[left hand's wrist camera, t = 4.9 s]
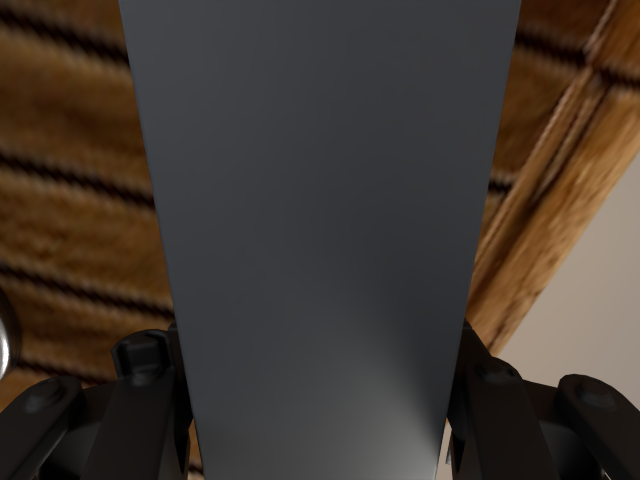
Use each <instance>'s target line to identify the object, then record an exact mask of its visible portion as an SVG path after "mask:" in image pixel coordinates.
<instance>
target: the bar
mask: <svg viewBox="0 0 640 480" xmlns="http://www.w3.org/2000/svg"><path fill="white" fill-rule="evenodd" d="M118 1H119V7H120V12H121V18H122V24H123V29H124V35H125V40H126V46H127V51H128V57H129V62H130V68H131V74H132V79H133V85H134V90H135V96H136V101H137V107H138V112H139V118H140V124H141V129H142V135H143V140H144V146H145V151H146V157H147V162H148V168H149V174H150V179H151V185H152V190H153V196H154V201H155V207H156V212H157V218H158V224H159V229H160V235H161V240H162V246H163V251H164V257H165V263H166V268H167V274H168V279H169V285H170V290H171V296H172V301H173V307H174V313H175V318H176V324H177V329H178V335H179V340H180V346H181V351H182V357H183V363H184V368H185V374H186V379H187V385H188V390H189V396H190V401H191V407H192V413H193V418H194V424H195V429H196V435H197V440H198V446H199V451H200V457H201V463H202V468H203V474H204V479H205V480H435V478H436V473H437V467H438V461H439V456H440V450H441V445H442V439H443V434H444V428H445V423H446V417H447V411H448V406H449V400H450V395H451V389H452V384H453V378H454V373H455V367H456V361H457V356H458V350H459V345H460V339H461V334H462V328H463V323H464V317H465V311H466V306H467V300H468V295H469V289H470V284H471V278H472V273H473V267H474V261H475V256H476V250H477V245H478V239H479V234H480V228H481V223H482V217H483V211H484V206H485V200H486V195H487V189H488V184H489V178H490V173H491V167H492V161H493V156H494V150H495V145H496V139H497V134H498V128H499V122H500V117H501V111H502V106H503V100H504V95H505V89H506V84H507V78H508V72H509V67H510V61H511V56H512V50H513V45H514V39H515V34H516V28H517V22H518V17H519V11H520V6H521V0H118Z"/></svg>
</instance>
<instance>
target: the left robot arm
mask: <svg viewBox="0 0 640 480" xmlns="http://www.w3.org/2000/svg"><path fill="white" fill-rule="evenodd" d="M20 352H21V333H20V328H19V324H18V321H17V318H16V316H15V314H14V312H13V309H12V307H11V306H10V304H9V302H8V301H7V299H6V298H5V296H4V295H3V294H2V292H1V291H0V382H1V381H2V380H3V379H4V378H6V377H7V376H8V375H9V374H10V373H11V372H12V370H13V369H14V367H15V366H16V364H17V362H18V359H19V356H20ZM111 354H112V357H113V361H114V365H115V368H116V372H117V376H118V380H117V381H114V382H111V383H107V384H103V385H99V386H94V387H90V388H85V389H83V388H82V385H81V382H80V380H78V379H77V378H76V377H74V376H67V375H64V376H57V377H52V378H49V379H46V380H44V381H41V382H39V383H37V384H35V385H33V386H31V387H29V388H28V389H26V390H25V391H24V392H23V393H21V394H20V395H19V396H17V397H16V398H15V399H14V400H13V401H12V402H11V403H10V404H9V405H8V406H7V407H6V408H5V409H4V410H3V411H2V412H1V413H0V480H31V478H32V477H33V476H34V474H35V476H34V477H33V479H32V480H187V478H188V467H189V456H190V445H191V442H190V436H189V431H188V429H189V427H190V425H191V422H192V420H193V413H192V407H191V401H190V396H189V390H188V385H187V379H186V374H185V368H184V363H183V357H182V351H181V346H180V340H179V335H178V329H177V324H176V318H175V319H174V321H173V323H171V325H170V326H169V328H168V331H163V330H159V329H147V330H143V331H138V332H135V333H133V334H130V335H128V336H126V337H124V338H123V339H121V340H120V341H119V342H117V343H116V344H115V345H114V347H113V348H112V349H111ZM447 419H448V421H449V423H450V426H451V428H452V431H451V436H450V441H449V447H448V452H447V457H446V464H450V462H451V466H452V477H453V480H609V478H608V477H607V476H606V474H607V475H608V476H609V477H610V479H611V480H640V411H639V410H638V409H637V408H636V407H635V406H634V405H633V404H632V403H631V402H630V401H629V400H628V399H627V398H625V396H623V395H622V394H621V393H620V392H618V391H617V390H616V389H615V388H613V387H612V386H610V385H608V384H606V383H604V382H602V381H600V380H598V379H595V378H592V377H589V376H586V375H579V374H570V375H565V376H564V377H562V378H561V379H560V381H559V384H558V387H557V388H556V387H552V386H548V385H543V384H539V383H534V382H530V381H527V380H523V379H522V377H521V376H520V374H519V373H518V371H517V370H516V369H515V368H514V367H512V366H511V365H510V364H509V363H507V362H505V361H503V360H501V359H499V358H496V357H492V356H491V354H490V353H489V351H488V350H487V349H486V347H485V346H484V344H483V343H482V341H481V340H480V338H479V337H478V335H477V334H476V333H475V331H474V330H472V327H471V325H470V324H469V322H467V319H466V318H465V317H464V323H463V328H462V334H461V339H460V345H459V350H458V356H457V361H456V367H455V373H454V378H453V384H452V389H451V395H450V400H449V406H448V411H447ZM605 472H606V474H605Z"/></svg>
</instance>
